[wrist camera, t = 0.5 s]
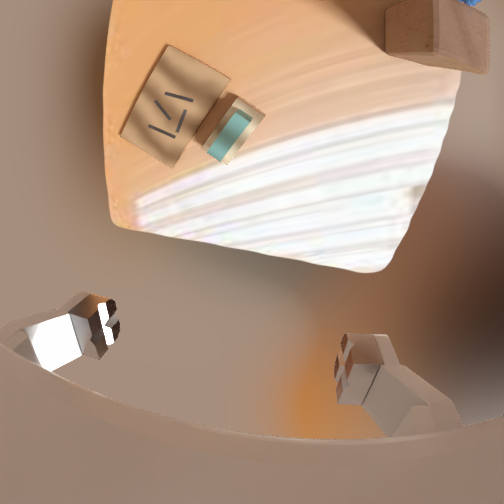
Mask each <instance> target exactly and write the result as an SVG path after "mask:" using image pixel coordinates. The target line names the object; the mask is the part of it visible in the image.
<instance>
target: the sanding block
mask: <svg viewBox="0 0 504 504" xmlns="http://www.w3.org/2000/svg"><path fill="white" fill-rule="evenodd" d="M264 117H265V114H264V113H263V112H261V111H260V110H258V109H257V108H256V107H254V106H253V105H251V104H250V103H248V102H247V101H245V100H244V99H242V98H241V97H238V98H237V99H236V100H235V101H234V103H233V104H232V105H231V107H230V108H229V109H228V111H227V112H226V114H225V115H224V116H223V118H222V119H221V120H220V122H219V123H218V125H217V126H216V128H215V129H214V130H213V132H212V133H211V135H210V136H209V138H208V139H207V141H206V142H205V143H204V145H203V146H202V148H203V149H204V150H206V151H207V153H208V154H210V155H211V156H213V157H214V158H216V159H217V160H219V161H220V162H221V161H222V162H223V163H225V164H226V165H228V163H229V162H230V161H231V159H232V158H233V157H234V155H235V154H236V153H237V151H238V150H239V149H240V147H241V146H242V145H243V144H244V142H245V141H246V140H247V138H248V137H249V136H250V135H251V133H252V132H253V131H254V130H255V128H256V127H257V126H258V124H259V123H260V122H261V121H262V120H263V118H264Z"/></svg>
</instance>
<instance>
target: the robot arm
mask: <svg viewBox="0 0 504 504" xmlns="http://www.w3.org/2000/svg"><path fill="white" fill-rule="evenodd" d="M116 310H117V307H116V302H115V301H114V300H113V299H111V298H107V297H103V296H99V295H96V294H92V293H88V292H84V291H83V292H79V293H78V294H76V295H75V296H74V297H73V298H71V299H70V300H69V301H68V302H66V303H65V304H64V305H63V306H61V307H60V308H59V309H58V310H56V309H53V310H50V311H46V312H43V313H39V314H35V315H32V316H29V317H25V318H22V319H18V320H15V321H11V322H8V323H7V324H5V325H4V326H3V327H2V328H1V329H0V504H504V415H503V416H500V417H497V418H493V419H490V420H486V421H483V422H479V423H475V424H471V425H466V426H463V425H462V423H461V421H460V418H459V416H458V413H457V411H456V409H455V407H454V404H453V402H452V401H451V400H450V399H449V398H447V397H446V396H445V395H443V394H442V393H441V392H439V391H438V390H437V389H435V388H434V387H433V386H431V385H430V384H429V383H427V382H426V381H425V380H423V379H422V378H421V377H419V376H418V375H417V374H415V373H414V372H413V371H411V370H410V369H409V368H407V367H406V366H404V365H400V364H399V361H398V359H397V356H396V354H395V351H394V349H393V347H392V344H391V342H390V339H389V337H388V336H387V335H364V334H344V335H343V338H342V341H341V348H342V350H341V351H340V352H339V353H338V354H337V357H336V361H335V367H334V377H335V380H336V381H337V382H338V385H337V388H336V394H337V403H338V404H351V405H362V407H363V408H364V409H365V411H366V412H367V413H368V414H369V415H370V416H371V418H372V419H373V420H374V421H375V423H376V424H377V425H378V426H379V427H380V429H381V430H382V431H383V432H384V434H385V435H386V436H387V437H388V438H376V439H375V438H374V439H350V440H349V439H348V440H347V439H346V440H336V439H334V440H333V439H332V440H331V439H304V438H289V437H278V436H268V435H259V434H252V433H245V432H239V431H232V430H227V429H221V428H216V427H211V426H206V425H201V424H197V423H193V422H188V421H184V420H180V419H176V418H172V417H169V416H165V415H161V414H158V413H155V412H151V411H148V410H145V409H141V408H138V407H135V406H132V405H129V404H126V403H124V402H120V401H118V400H115V399H113V398H110V397H107V396H105V395H102V394H99V393H97V392H95V391H92V390H90V389H87V388H85V387H83V386H80V385H78V384H76V383H74V382H71V381H69V380H67V379H65V378H63V377H61V376H59V375H57V374H55V373H52V372H51V371H53V370H55V369H56V368H58V367H60V366H62V365H64V364H66V363H68V362H70V361H72V360H74V359H75V358H78V357H79V356H81V355H82V354H83V355H86V356H89V357H92V358H95V359H98V360H100V359H101V357H102V356H103V355H104V354H105V352H106V351H107V350H108V345H109V344H111V343H113V342H115V340H116V339H117V338H118V335H119V332H120V322H119V319H118V317H117V316H116V315H115V312H116Z"/></svg>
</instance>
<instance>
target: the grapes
mask: <svg viewBox="0 0 504 504" xmlns="http://www.w3.org/2000/svg"><path fill="white" fill-rule="evenodd" d="M458 1H461V2H464V3H465V4H467V5H469V6H474V5H476V4H477V3H476V2H480V1H481V0H458Z"/></svg>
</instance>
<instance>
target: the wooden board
mask: <svg viewBox="0 0 504 504" xmlns="http://www.w3.org/2000/svg"><path fill="white" fill-rule="evenodd" d="M230 81H231V79H230V78H228V77H227V76H225V75H223V74H222V73H220V72H218V71H217V70H215V69H213V68H212V67H210V66H208V65H206V64H205V63H203V62H201V61H199V60H198V59H196V58H194V57H192V56H190V55H188V54H187V53H185V52H183V51H181V50H179V49H177V48H175V47H173V46H171V45H169V46H168V47H167V49H166V50H165V52H164V54H163V55H162V57H161V58H160V60H159V62H158V63H157V65H156V67H155V69H154V70H153V72H152V74H151V76H150V77H149V79H148V81H147V83H146V85H145V87H144V88H143V90H142V92H141V94H140V96H139V98H138V100H137V102H136V104H135V106H134V108H133V110H132V112H131V114H130V116H129V118H128V121H127V123H126V125H125V127H124V129H123V132H122V134H121V136H120V137H122V138H123V139H125V140H127V141H128V142H130V143H132V144H133V145H135V146H136V147H138V148H140V149H141V150H143V151H145V152H146V153H148V154H149V155H151V156H153V157H154V158H156V159H157V160H159V161H160V162H162V163H164V164H165V165H167V166H168V167H170V168H172V169H173V168H174V167H175V165H176V163H177V162H178V160H179V158H180V156H181V155H182V153H183V151H184V150H185V148H186V147H187V145H188V143H189V142H190V140H191V138H192V137H193V135H194V134H195V132H196V131H197V129H198V127H199V126H200V124H201V123H202V121H203V120H204V118H205V117H206V115H207V114H208V112H209V111H210V109H211V108H212V106H213V105H214V103H215V102H216V100H217V99H218V98H219V96H220V95H221V93H222V92H223V90H224V89H225V88H226V86H227V85H228V84H229V82H230Z"/></svg>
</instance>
